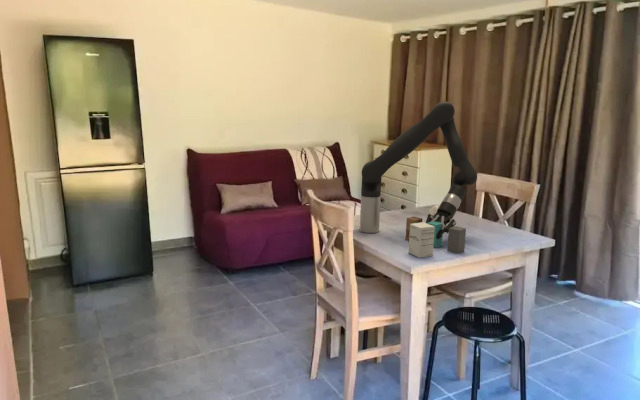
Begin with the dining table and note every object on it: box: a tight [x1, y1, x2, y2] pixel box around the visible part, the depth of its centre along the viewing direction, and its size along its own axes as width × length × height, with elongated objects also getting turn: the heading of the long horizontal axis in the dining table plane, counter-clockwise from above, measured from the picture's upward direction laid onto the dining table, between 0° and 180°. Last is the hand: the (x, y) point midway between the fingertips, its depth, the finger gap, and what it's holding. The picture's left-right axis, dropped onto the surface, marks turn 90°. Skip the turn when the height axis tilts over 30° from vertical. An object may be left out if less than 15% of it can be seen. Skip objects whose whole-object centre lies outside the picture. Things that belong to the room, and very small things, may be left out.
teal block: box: [427, 221, 444, 248], centre depth 215 cm, size 5×5×10 cm
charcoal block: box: [446, 225, 467, 254], centre depth 207 cm, size 5×5×10 cm
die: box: [428, 204, 440, 219], centre depth 260 cm, size 8×9×10 cm
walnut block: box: [405, 216, 423, 241], centre depth 223 cm, size 5×5×10 cm
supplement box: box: [407, 221, 435, 259], centre depth 202 cm, size 7×7×13 cm
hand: (431, 236), depth 214 cm, fingers closed on teal block, 5 cm apart
